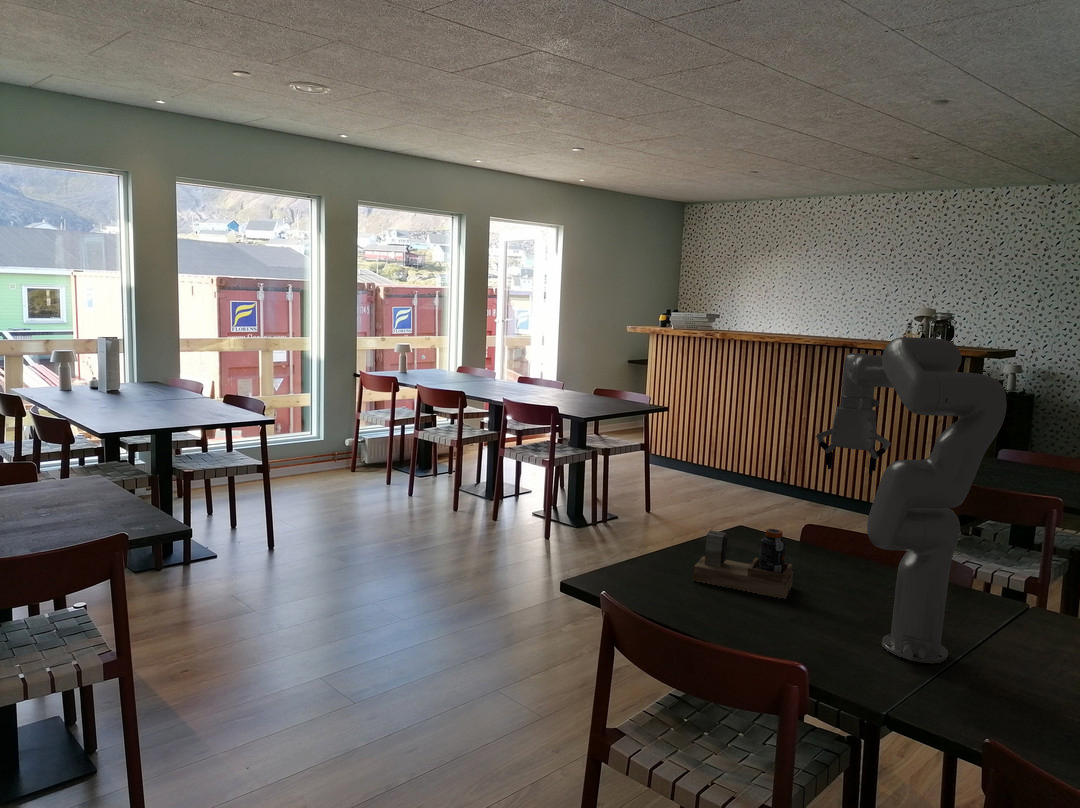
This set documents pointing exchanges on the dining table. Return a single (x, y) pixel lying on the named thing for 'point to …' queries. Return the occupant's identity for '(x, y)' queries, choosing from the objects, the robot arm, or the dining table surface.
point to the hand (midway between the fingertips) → (849, 470)
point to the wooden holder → (739, 571)
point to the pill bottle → (772, 551)
